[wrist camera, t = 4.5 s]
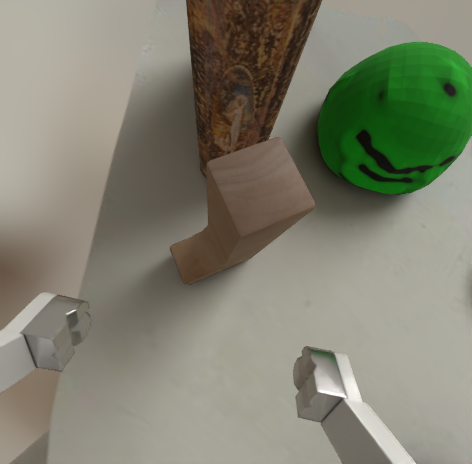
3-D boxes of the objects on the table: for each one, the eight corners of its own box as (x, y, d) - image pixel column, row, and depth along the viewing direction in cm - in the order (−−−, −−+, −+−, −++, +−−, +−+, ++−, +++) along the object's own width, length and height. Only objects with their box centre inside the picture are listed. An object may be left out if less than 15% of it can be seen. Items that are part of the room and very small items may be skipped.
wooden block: (238, 226, 25) (281, 132, 10) (253, 257, 24) (319, 205, 9) (174, 252, 23) (116, 190, 9) (188, 285, 23) (149, 277, 8)
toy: (300, 179, 26) (353, 114, 17) (321, 78, 30) (375, -25, 20) (421, 213, 27) (540, 170, 17) (428, 110, 30) (533, 25, 20)
